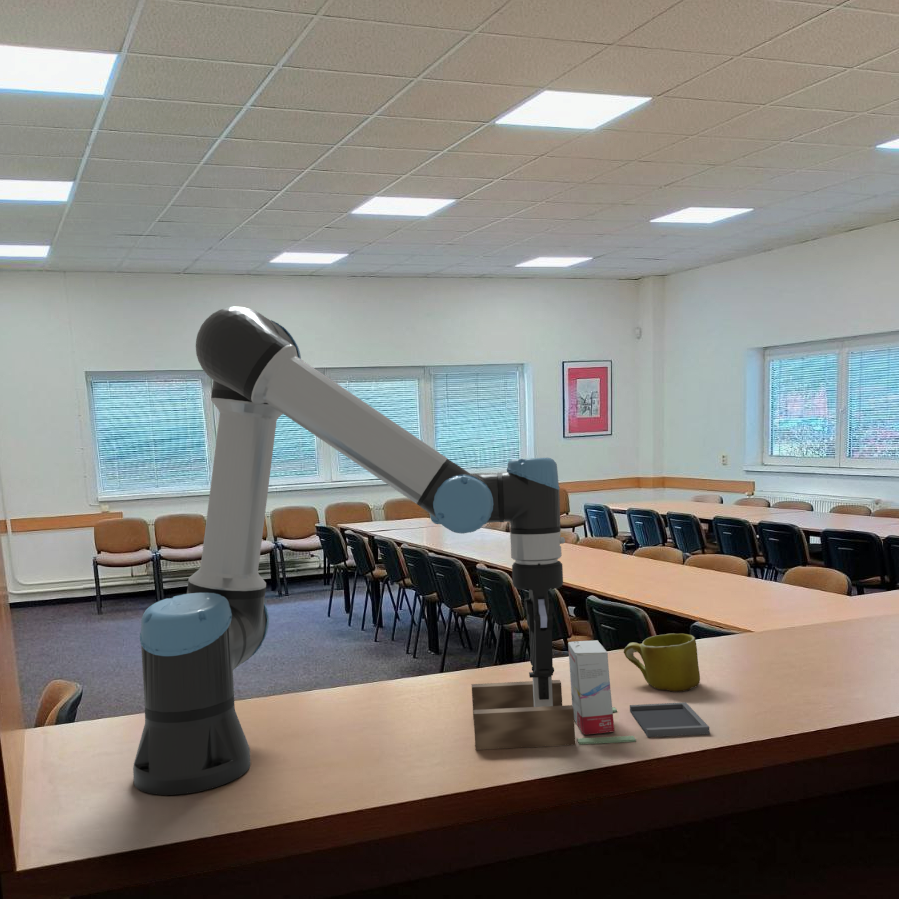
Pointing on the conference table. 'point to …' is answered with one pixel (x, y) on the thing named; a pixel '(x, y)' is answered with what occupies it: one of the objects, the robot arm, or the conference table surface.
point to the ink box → (590, 687)
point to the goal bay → (606, 738)
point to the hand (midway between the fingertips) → (543, 718)
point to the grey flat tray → (668, 719)
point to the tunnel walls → (519, 717)
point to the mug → (667, 661)
